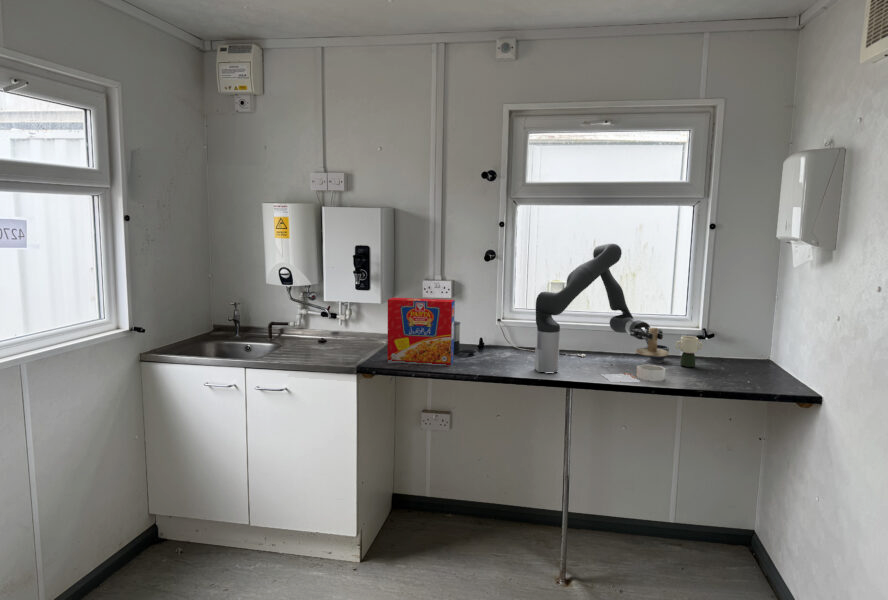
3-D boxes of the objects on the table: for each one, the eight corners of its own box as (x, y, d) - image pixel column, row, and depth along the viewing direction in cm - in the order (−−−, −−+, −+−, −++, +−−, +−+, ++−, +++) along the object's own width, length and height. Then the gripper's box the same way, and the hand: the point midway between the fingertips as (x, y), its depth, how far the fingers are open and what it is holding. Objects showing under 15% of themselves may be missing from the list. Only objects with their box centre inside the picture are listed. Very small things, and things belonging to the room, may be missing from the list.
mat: (611, 383, 218) (611, 382, 218) (597, 374, 232) (598, 373, 232) (643, 383, 219) (643, 382, 219) (628, 373, 233) (628, 372, 233)
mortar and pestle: (664, 359, 260) (666, 334, 259) (671, 364, 251) (672, 337, 250) (640, 358, 261) (641, 333, 260) (645, 363, 252) (646, 337, 251)
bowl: (644, 381, 221) (644, 370, 220) (633, 375, 231) (633, 364, 230) (668, 381, 222) (669, 370, 221) (656, 375, 232) (657, 364, 231)
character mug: (698, 365, 250) (700, 336, 248) (703, 369, 243) (705, 339, 241) (672, 364, 252) (674, 335, 250) (676, 367, 245) (678, 338, 243)
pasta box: (387, 363, 246) (387, 299, 242) (392, 359, 254) (392, 297, 250) (450, 366, 241) (451, 302, 238) (453, 362, 249) (454, 299, 245)
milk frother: (439, 351, 271) (439, 320, 270) (471, 350, 274) (471, 320, 272) (444, 357, 257) (444, 325, 256) (478, 356, 260) (478, 325, 258)
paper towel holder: (644, 356, 219) (645, 331, 217) (631, 349, 230) (632, 325, 229) (673, 356, 220) (675, 331, 218) (659, 349, 231) (661, 325, 230)
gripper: (622, 320, 237) (639, 327, 220) (654, 320, 238) (674, 327, 221) (621, 337, 238) (638, 346, 221) (653, 337, 239) (673, 346, 222)
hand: (656, 336), depth 221 cm, fingers closed on paper towel holder, 3 cm apart
